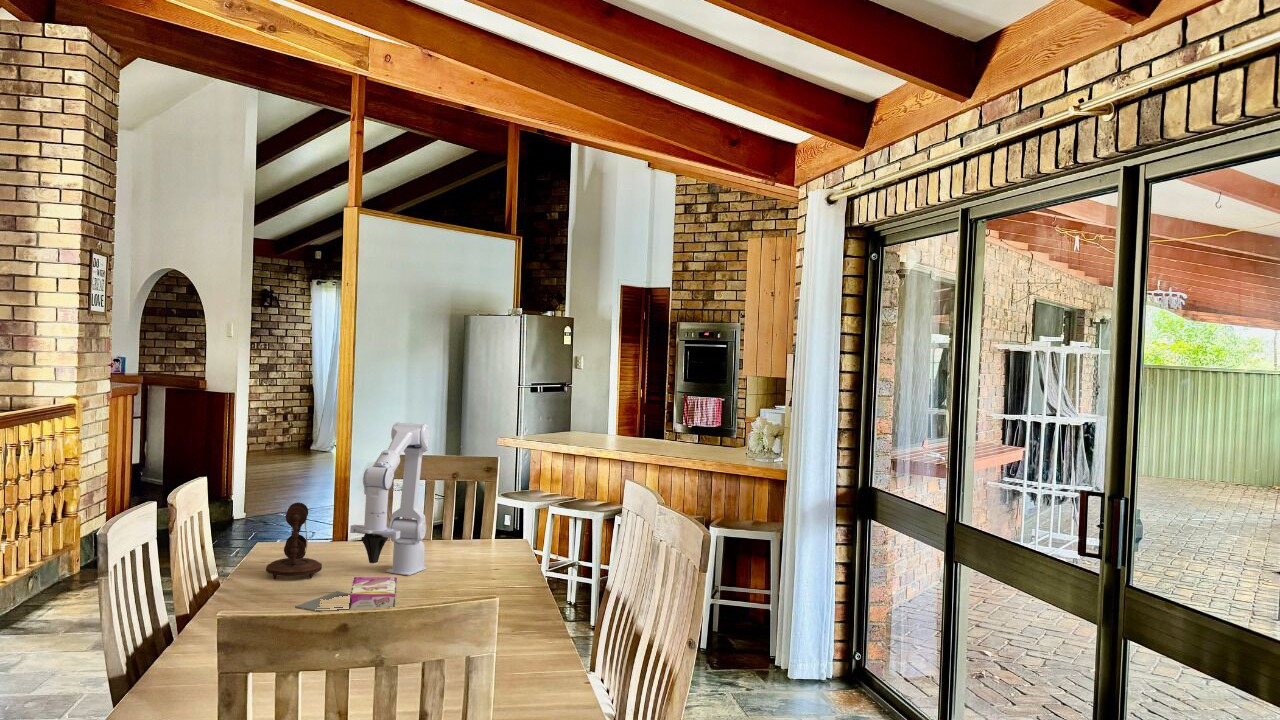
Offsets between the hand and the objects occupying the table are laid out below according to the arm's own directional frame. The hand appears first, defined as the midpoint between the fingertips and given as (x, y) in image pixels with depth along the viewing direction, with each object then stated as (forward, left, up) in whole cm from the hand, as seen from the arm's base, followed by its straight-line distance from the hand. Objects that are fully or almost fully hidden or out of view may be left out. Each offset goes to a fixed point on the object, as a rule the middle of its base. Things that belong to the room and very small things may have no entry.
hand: (373, 562), depth 237 cm
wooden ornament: (-5, -30, -9) cm, 32 cm away
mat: (+12, 0, -8) cm, 14 cm away
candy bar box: (+1, +1, -6) cm, 6 cm away
